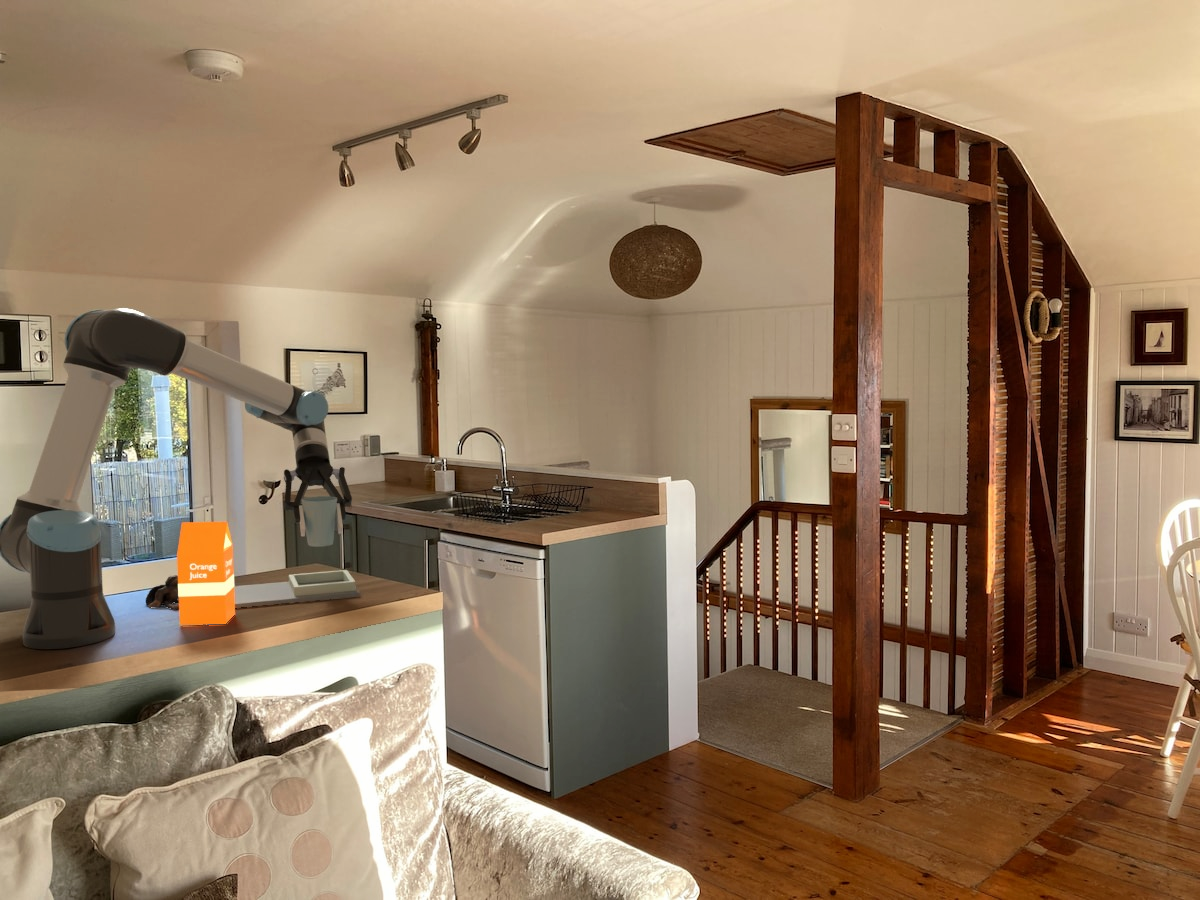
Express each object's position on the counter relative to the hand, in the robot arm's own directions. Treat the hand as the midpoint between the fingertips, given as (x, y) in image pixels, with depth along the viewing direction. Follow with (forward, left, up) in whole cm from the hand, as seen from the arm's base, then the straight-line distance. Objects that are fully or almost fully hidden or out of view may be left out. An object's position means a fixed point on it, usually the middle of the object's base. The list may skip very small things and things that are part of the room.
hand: (322, 531), depth 209 cm
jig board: (-6, +3, -14) cm, 16 cm away
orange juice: (-24, -13, -15) cm, 31 cm away
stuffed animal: (-30, +7, -15) cm, 35 cm away
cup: (0, +3, -4) cm, 5 cm away
